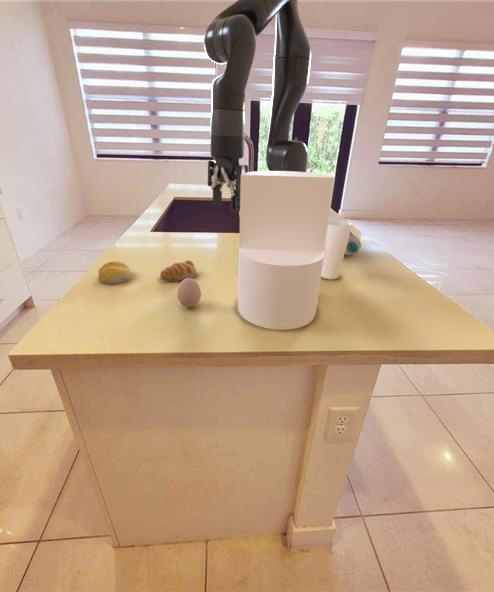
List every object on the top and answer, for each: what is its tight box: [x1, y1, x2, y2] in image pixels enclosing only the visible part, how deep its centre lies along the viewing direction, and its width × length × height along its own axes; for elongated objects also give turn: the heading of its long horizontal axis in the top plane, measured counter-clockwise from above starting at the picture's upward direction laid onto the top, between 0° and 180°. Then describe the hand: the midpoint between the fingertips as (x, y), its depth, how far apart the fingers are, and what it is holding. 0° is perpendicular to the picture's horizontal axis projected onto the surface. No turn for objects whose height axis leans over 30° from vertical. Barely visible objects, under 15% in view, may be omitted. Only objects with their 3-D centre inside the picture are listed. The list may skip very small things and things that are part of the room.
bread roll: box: [97, 260, 133, 285], centre depth 82 cm, size 8×9×4 cm
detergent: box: [344, 231, 362, 256], centre depth 108 cm, size 13×7×25 cm
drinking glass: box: [321, 219, 352, 281], centre depth 83 cm, size 7×7×15 cm
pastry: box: [160, 260, 198, 282], centre depth 83 cm, size 9×7×4 cm
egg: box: [176, 278, 202, 308], centre depth 69 cm, size 5×5×7 cm
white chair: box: [237, 170, 336, 331], centre depth 64 cm, size 17×17×28 cm
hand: (225, 208), depth 77 cm, fingers open, 8 cm apart
